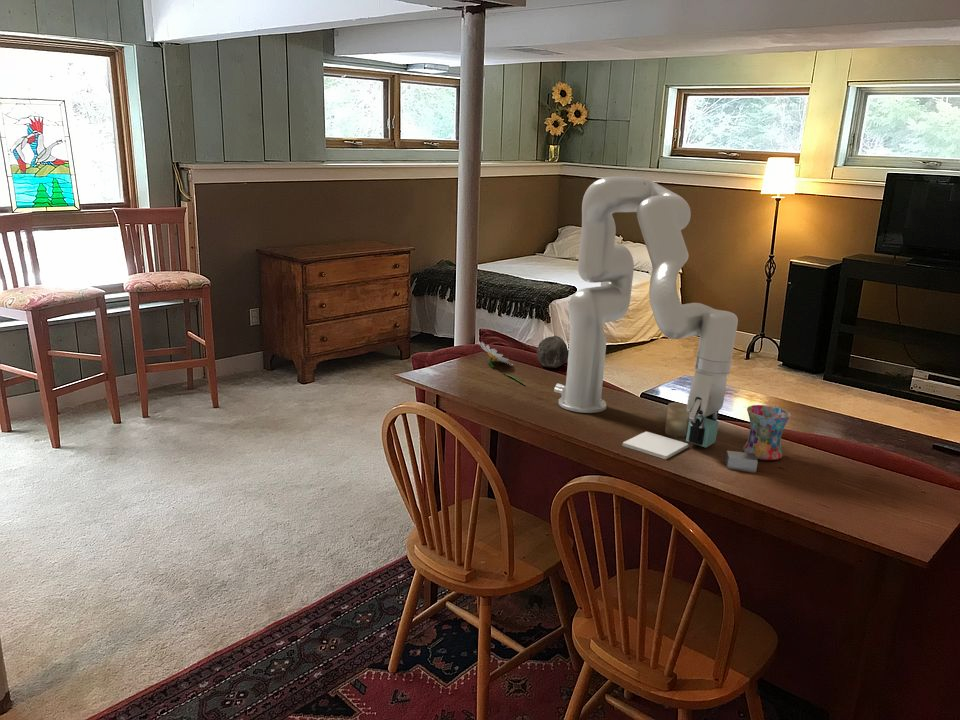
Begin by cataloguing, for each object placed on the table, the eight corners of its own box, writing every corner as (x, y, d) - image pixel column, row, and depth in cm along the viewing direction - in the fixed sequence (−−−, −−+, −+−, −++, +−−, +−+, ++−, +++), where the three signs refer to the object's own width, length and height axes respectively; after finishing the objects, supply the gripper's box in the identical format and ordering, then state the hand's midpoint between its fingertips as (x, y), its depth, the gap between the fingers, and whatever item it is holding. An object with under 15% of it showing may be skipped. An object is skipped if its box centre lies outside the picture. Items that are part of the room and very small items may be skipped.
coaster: (622, 445, 174) (622, 442, 174) (645, 434, 182) (646, 431, 182) (665, 459, 168) (666, 456, 167) (688, 447, 176) (688, 443, 175)
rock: (542, 368, 232) (546, 336, 231) (530, 363, 243) (534, 332, 242) (572, 371, 235) (576, 339, 234) (559, 366, 246) (563, 335, 245)
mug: (768, 466, 167) (775, 420, 164) (732, 452, 174) (738, 408, 171) (798, 456, 174) (806, 412, 171) (762, 443, 181) (769, 400, 178)
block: (685, 440, 176) (688, 420, 174) (695, 435, 180) (698, 415, 178) (706, 447, 173) (709, 427, 171) (715, 442, 176) (718, 421, 175)
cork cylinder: (661, 432, 184) (664, 405, 182) (670, 428, 188) (674, 401, 186) (680, 438, 181) (683, 410, 179) (689, 433, 185) (693, 406, 183)
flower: (515, 368, 213) (474, 332, 238) (504, 383, 213) (465, 346, 238) (546, 388, 220) (504, 351, 245) (535, 403, 220) (494, 365, 245)
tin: (726, 470, 164) (728, 457, 163) (724, 463, 168) (726, 450, 167) (755, 473, 163) (757, 460, 162) (753, 466, 167) (755, 453, 166)
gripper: (713, 355, 180) (701, 427, 185) (680, 367, 167) (668, 444, 172) (744, 362, 175) (731, 436, 180) (712, 376, 162) (699, 454, 167)
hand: (700, 439), depth 176 cm, fingers closed on block, 5 cm apart
